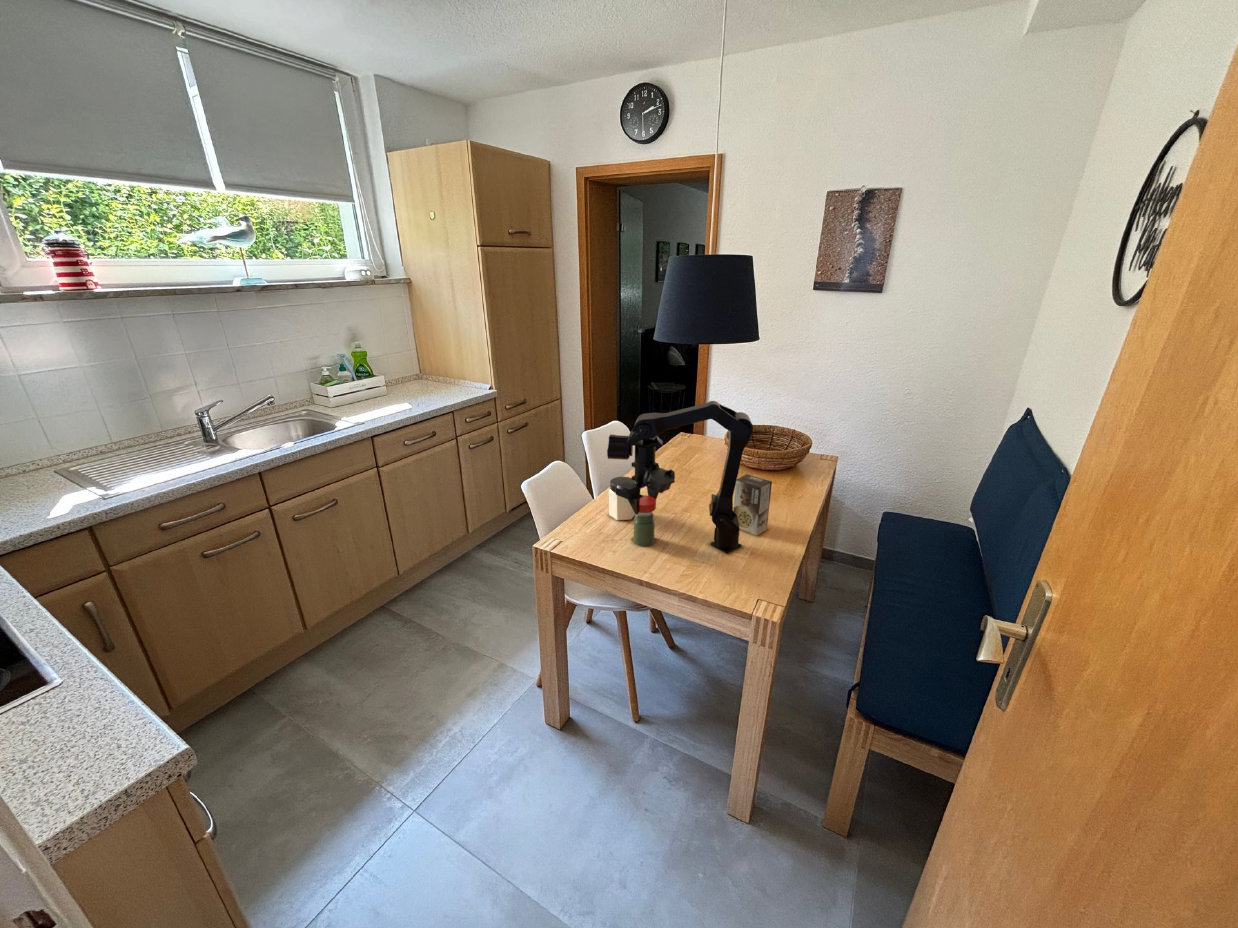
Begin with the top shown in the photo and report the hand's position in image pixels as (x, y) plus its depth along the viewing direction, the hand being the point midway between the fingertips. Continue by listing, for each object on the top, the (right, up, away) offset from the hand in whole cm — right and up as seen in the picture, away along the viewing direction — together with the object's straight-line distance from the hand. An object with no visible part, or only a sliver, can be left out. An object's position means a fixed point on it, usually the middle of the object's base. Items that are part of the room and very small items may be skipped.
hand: (644, 509), depth 144 cm
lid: (0, +2, -1) cm, 3 cm away
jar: (-6, -4, +20) cm, 21 cm away
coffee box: (+33, -7, +11) cm, 36 cm away
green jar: (0, -10, +4) cm, 10 cm away
